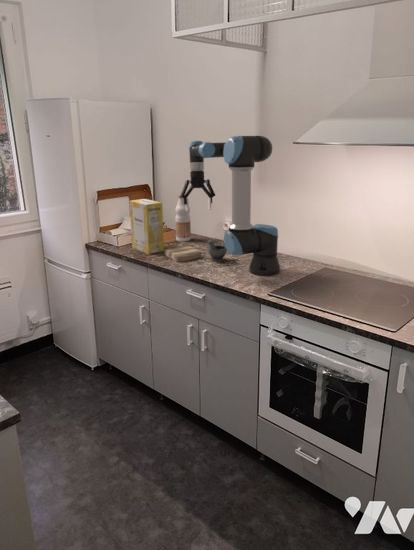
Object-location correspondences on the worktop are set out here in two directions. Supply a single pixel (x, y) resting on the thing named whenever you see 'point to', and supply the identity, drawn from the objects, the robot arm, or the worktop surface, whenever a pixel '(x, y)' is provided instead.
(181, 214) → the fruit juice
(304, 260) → the worktop surface
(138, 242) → the pasta box
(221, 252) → the mortar and pestle
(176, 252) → the block
